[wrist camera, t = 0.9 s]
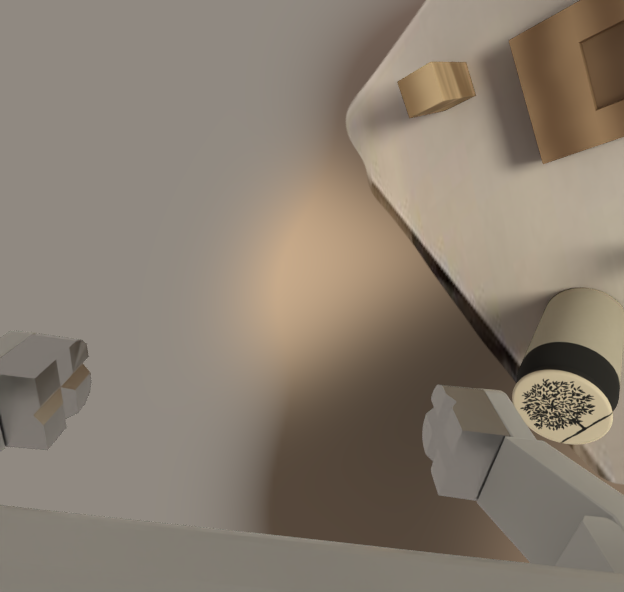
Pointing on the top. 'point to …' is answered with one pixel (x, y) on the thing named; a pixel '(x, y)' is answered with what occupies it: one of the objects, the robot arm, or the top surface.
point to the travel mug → (573, 368)
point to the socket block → (574, 77)
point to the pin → (436, 88)
